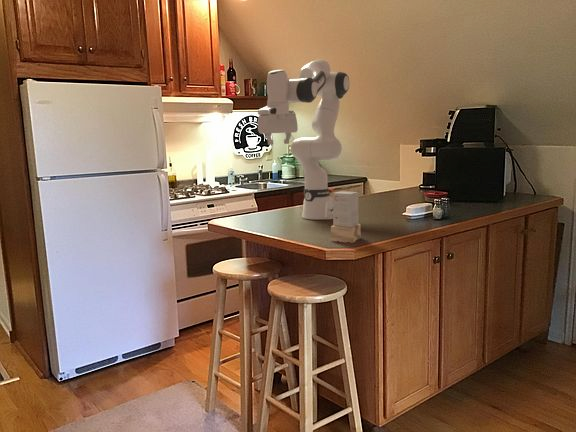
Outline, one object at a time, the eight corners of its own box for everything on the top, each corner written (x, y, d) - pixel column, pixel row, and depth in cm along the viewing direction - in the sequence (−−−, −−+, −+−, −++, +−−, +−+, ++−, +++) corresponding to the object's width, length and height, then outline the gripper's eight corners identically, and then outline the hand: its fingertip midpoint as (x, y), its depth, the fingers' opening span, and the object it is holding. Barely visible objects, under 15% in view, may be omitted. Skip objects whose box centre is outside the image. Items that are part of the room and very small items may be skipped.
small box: (358, 224, 205) (359, 192, 203) (350, 227, 200) (350, 193, 198) (341, 223, 210) (341, 190, 207) (332, 225, 205) (332, 192, 202)
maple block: (339, 236, 212) (339, 222, 211) (360, 238, 208) (360, 223, 207) (330, 241, 204) (330, 226, 203) (352, 243, 200) (352, 228, 199)
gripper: (289, 110, 225) (290, 143, 227) (254, 110, 210) (255, 145, 212) (300, 110, 220) (301, 143, 223) (265, 110, 206) (266, 145, 208)
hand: (278, 144), depth 217 cm, fingers open, 8 cm apart
